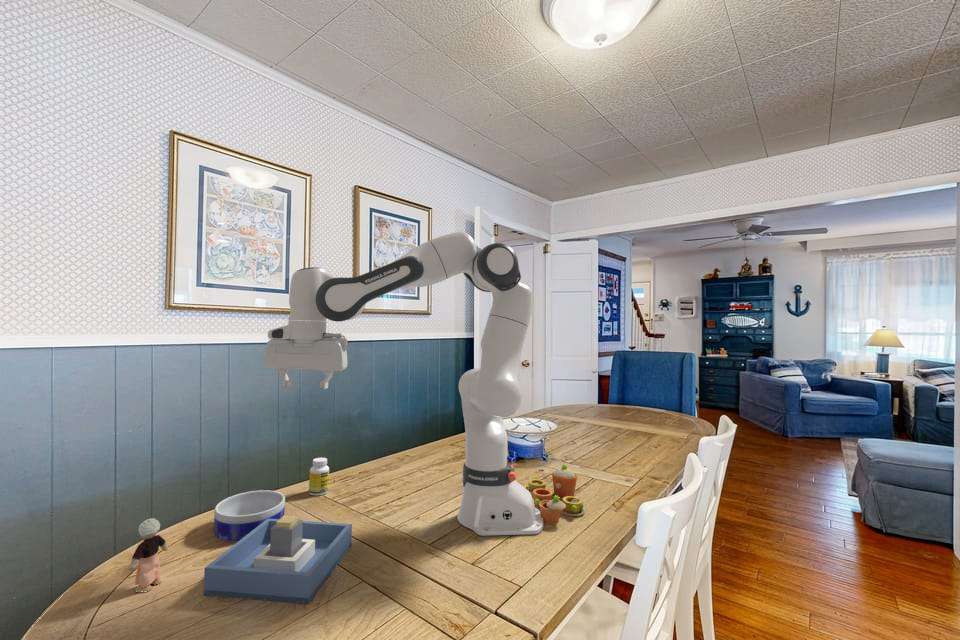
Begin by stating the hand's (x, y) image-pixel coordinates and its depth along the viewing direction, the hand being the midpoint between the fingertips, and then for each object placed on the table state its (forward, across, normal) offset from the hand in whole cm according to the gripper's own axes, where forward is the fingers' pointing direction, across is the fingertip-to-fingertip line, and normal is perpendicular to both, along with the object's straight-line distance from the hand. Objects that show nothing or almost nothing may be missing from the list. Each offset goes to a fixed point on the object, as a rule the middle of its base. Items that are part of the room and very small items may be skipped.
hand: (305, 387), depth 106 cm
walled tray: (+34, -6, +18) cm, 39 cm away
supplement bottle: (+34, +5, -20) cm, 40 cm away
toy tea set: (+35, -65, -22) cm, 76 cm away
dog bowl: (+34, +12, +2) cm, 37 cm away
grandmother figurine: (+34, +16, +27) cm, 47 cm away
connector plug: (+33, -6, +18) cm, 38 cm away
